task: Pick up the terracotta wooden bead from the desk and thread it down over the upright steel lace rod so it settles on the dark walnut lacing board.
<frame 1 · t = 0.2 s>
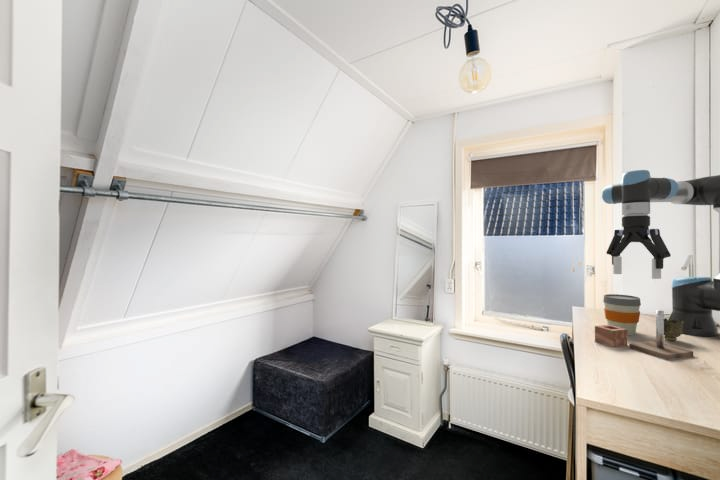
hand: (635, 276, 113), 27 cm above the table, tool pointing down, fingers open, 13 cm apart
reusable coffee cup: (621, 332, 139), on the table
bead: (610, 343, 124), on the table
cup: (670, 340, 127), on the table
lacing board: (660, 351, 114), on the table
lace rod: (659, 329, 114), on the lacing board, point 8 cm above the table
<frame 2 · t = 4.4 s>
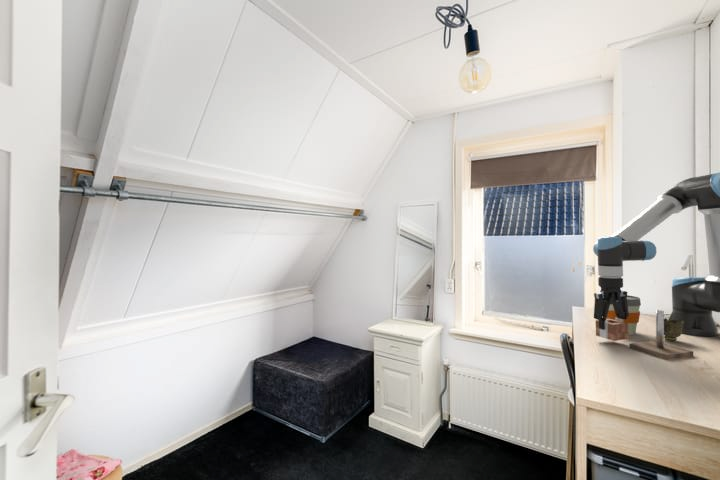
hand: (611, 336, 124), 3 cm above the table, tool pointing down, fingers closed on bead, 7 cm apart
bead: (611, 337, 124), point 2 cm above the table, touching gripper
everything else where it was.
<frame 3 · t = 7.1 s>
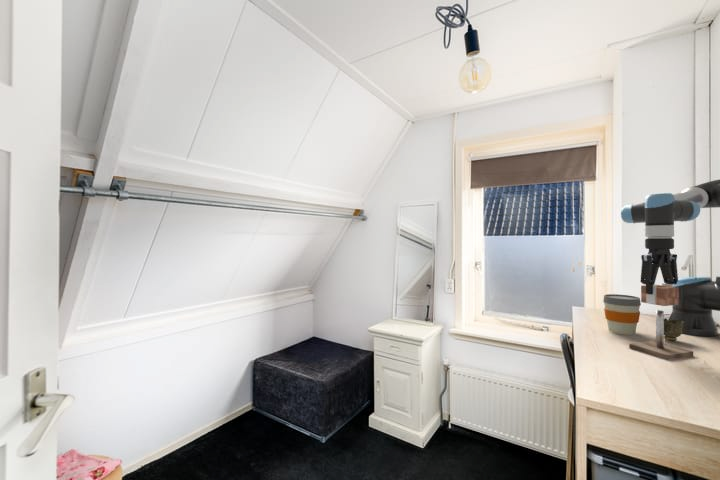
hand: (659, 302, 114), 17 cm above the table, tool pointing down, fingers closed on bead, 7 cm apart
bead: (659, 303, 114), point 17 cm above the table, touching gripper
everything else where it was.
when the fingers open (7 cm above the table, at t = 9.8 s): bead drops 5 cm, resting on lacing board.
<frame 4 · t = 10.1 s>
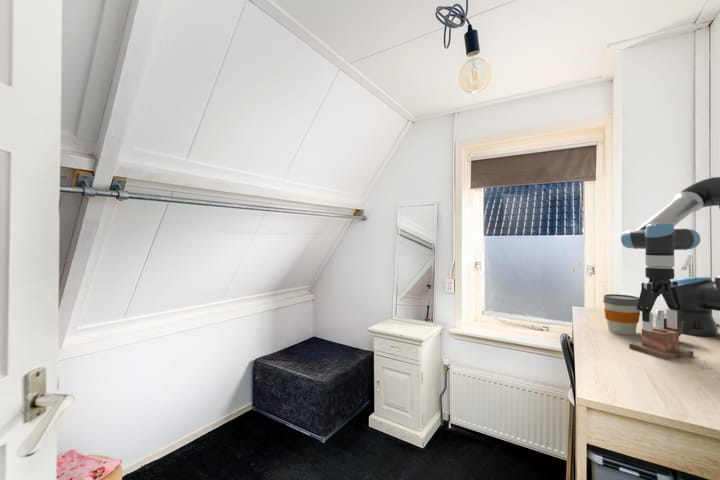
hand: (659, 329, 114), 8 cm above the table, tool pointing down, fingers open, 11 cm apart
bead: (659, 347, 114), point 2 cm above the table, touching lacing board
everything else where it was.
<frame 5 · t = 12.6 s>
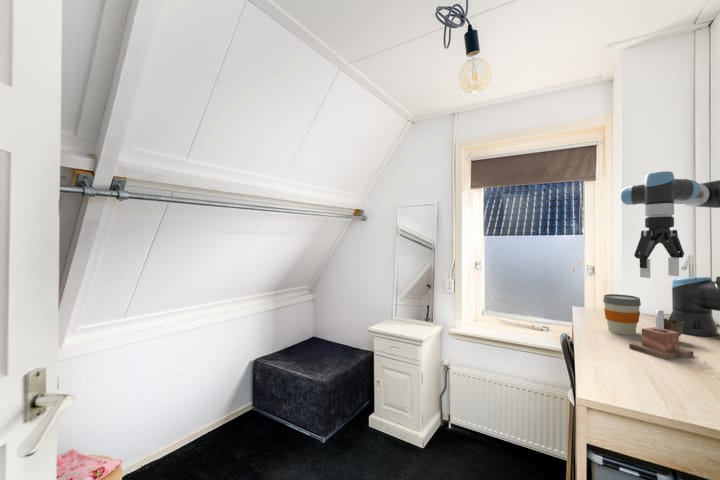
hand: (659, 276, 114), 27 cm above the table, tool pointing down, fingers open, 13 cm apart
nothing on the table moved.
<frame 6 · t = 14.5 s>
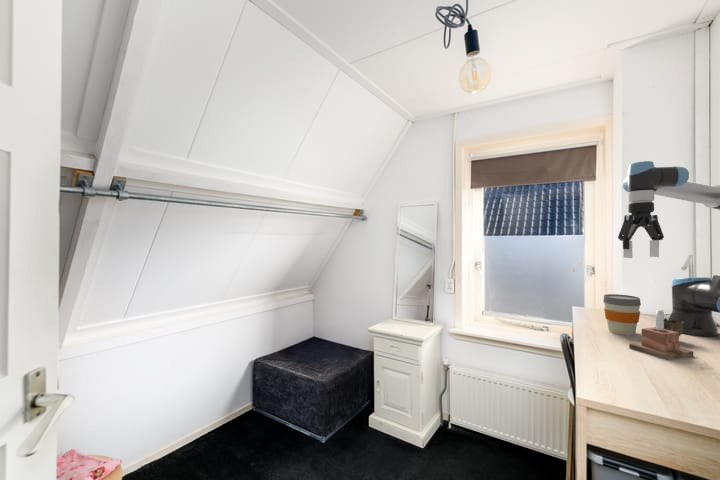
hand: (641, 257, 125), 33 cm above the table, tool pointing down, fingers open, 13 cm apart
nothing on the table moved.
at the end: bead 0.0 cm off-centre on the lacing board, point 1.6 cm above the lacing board's base; bead tilted 0°; the gripper is holding nothing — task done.
